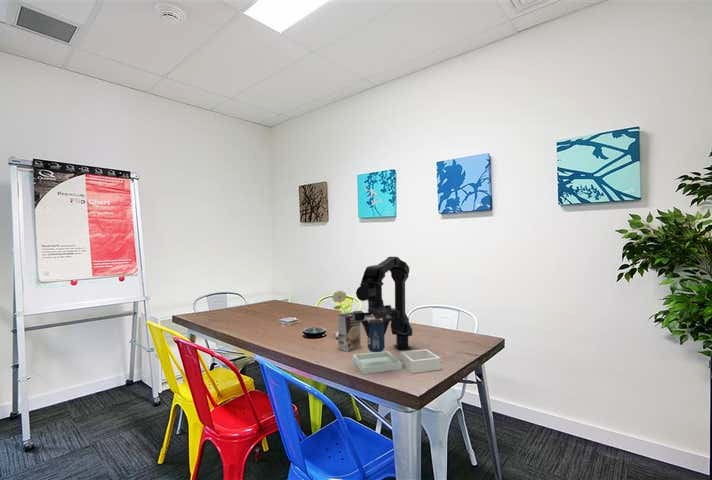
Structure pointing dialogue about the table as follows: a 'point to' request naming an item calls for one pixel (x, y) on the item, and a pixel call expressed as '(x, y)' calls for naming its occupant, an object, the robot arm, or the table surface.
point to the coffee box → (348, 333)
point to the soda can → (376, 336)
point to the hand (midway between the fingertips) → (376, 335)
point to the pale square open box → (420, 361)
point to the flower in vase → (339, 298)
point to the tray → (376, 362)
